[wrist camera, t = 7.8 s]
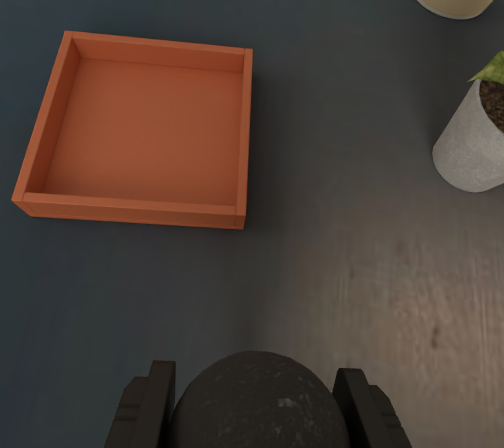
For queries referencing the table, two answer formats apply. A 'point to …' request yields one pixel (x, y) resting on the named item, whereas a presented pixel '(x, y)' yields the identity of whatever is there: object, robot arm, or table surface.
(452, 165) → the house plant
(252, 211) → the table surface
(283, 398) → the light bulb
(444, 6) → the coffee cup
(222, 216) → the terracotta tray
